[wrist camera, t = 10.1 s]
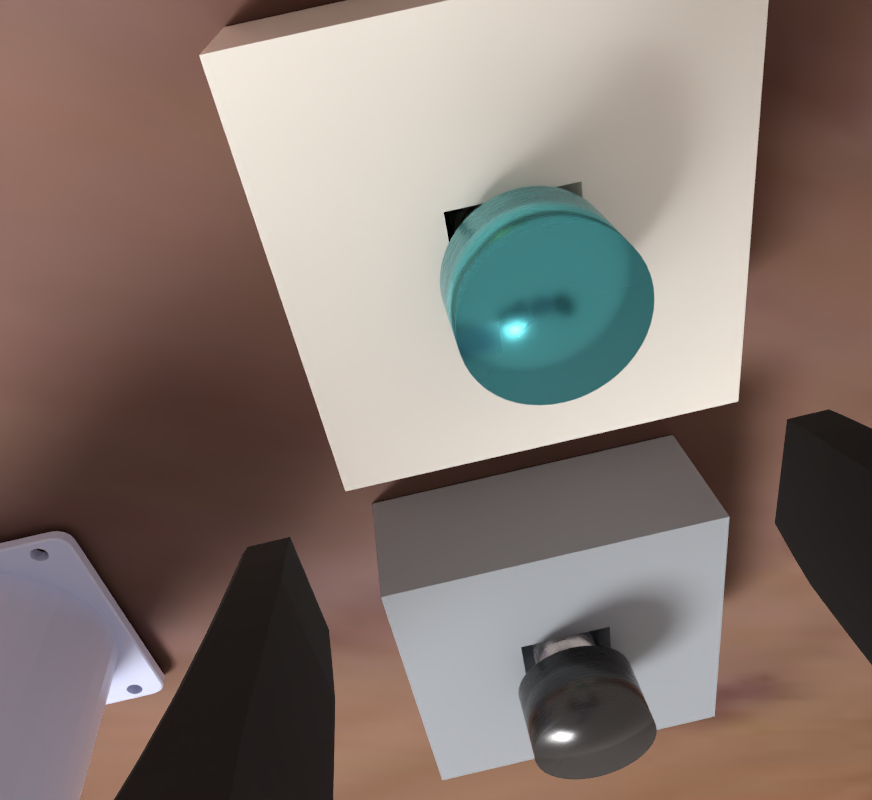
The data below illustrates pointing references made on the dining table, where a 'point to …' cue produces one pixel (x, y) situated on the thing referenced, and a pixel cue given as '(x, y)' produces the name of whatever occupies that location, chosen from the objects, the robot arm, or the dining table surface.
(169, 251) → the dining table surface
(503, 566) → the grey block
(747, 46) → the cream block
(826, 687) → the dining table surface
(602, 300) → the teal round knob
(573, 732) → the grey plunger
